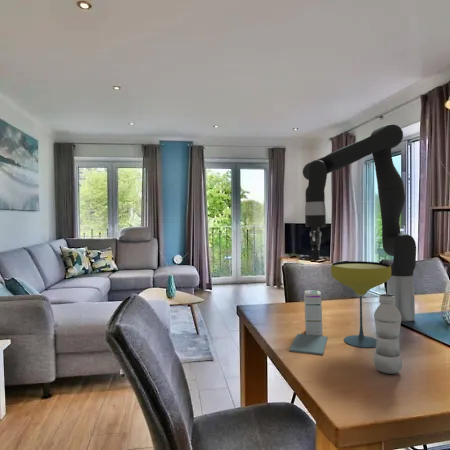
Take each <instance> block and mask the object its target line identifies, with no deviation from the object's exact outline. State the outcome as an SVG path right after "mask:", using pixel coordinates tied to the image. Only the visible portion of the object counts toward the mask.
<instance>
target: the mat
mask: <svg viewBox="0 0 450 450" xmlns="http://www.w3.org/2000/svg"><path fill="white" fill-rule="evenodd" d="M327 341H328V336H324V335H322V336H315V335H306V333H305V334H302V333H297V334H296V335H295V338H293V341H292V343H291V345H290V347H289V349H288V351H289V352H295V353H300V354H301V353H303V354H309V355H310V354H312V355H318V356H319V355H320V356H324V353H325V348H326V345H327Z"/></svg>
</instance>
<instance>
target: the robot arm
mask: <svg viewBox="0 0 450 450" xmlns="http://www.w3.org/2000/svg"><path fill="white" fill-rule="evenodd" d="M403 139H404V132H403V129H402V128H401V127H400V126H399V125H397V124H394V123H390V124H385V125H382V126H380V127H379V128H376V129H374V130H373V131H372V132H371V134H370V136H367V137H366V138H363V139H360V140H358V141H356V142H353V143H350V144H349V145H346V146H344V147H341V148H339V149H336V150H334V151H332V152H330V153H328V154H326V155H325V156H323V157H320V158H318V159H316V160H312V161H310V162H308V163H307V164H305V165H304V167H303V168H302V175H303V177H304V178H305V180H307V181H308V185H307V187H306V188H305V192H304V193H305V194H304V195H305V205H304V213H305V214H304V221H305V222H304V223H305V227H306V228H311V229H310V231H309V239H310V247H311V250H312V260H313V261H319V260H320V249H321V243H322V231H321V229H320V228H325V227H327V225H326V224H327V223H326V222H327V221H326V218H327V216H326V202H325V201H326V198H325V196H326V195H325V194H326V193H325V189H326V188H325V187H326V184H327V183H326V182H327V178H328V174H329V173H332V172H336V171H339V170H341V169H344V168H345V167H347V166H349V165H351V164H353V163H355V162H357V161H360V160H361V159H363V158H365V157H368V156H371V155H372V158H373V162H374V168H375V176H376V183H377V185H376V186H377V194H378V200H379V209H380V218H381V243H382V249H383V251H384V252H385V253H386V255H388V256H391V257H393V259H392V261H393V262H392V264H390V266H391V277H390V279H389V280H388V281H386V294H391V295H394V296H395V304H394V305H395V306H396V308H397V309H398V310H399V312H400V314H401V322H415V321H416V316H415V313H416V311H415V310H416V309H415V305H416V304H415V303H416V302H415V295H414V270H415V268H416V261H417V260H416V259H417V243H416V241H415V239H414V237H413V236H412V235H410V234H407V233H402V232H401V226H400V217H401V214H402V212H403V208H404V206H405V201H406V193H405V186H404V181H403V179H402V177H401V175H400V173H399V171H398V170H397V169H396V167H395V163H394V162H393V155H392V150H393V149H394V148H395V147H398V146H399V145H400V144H401V142H402V140H403Z"/></svg>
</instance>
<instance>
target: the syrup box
mask: <svg viewBox="0 0 450 450" xmlns="http://www.w3.org/2000/svg"><path fill="white" fill-rule="evenodd" d="M303 297H304V321H305V324H304V325H305V326H304V327H305V328H304V329H305V335H315V336H324V335H323V333H324V332H323V310H322V309H323V307H322V293H321V290H314V289H312V290H304V294H303Z"/></svg>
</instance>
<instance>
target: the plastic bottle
mask: <svg viewBox="0 0 450 450" xmlns="http://www.w3.org/2000/svg"><path fill="white" fill-rule="evenodd" d="M378 296H379V298H378V302H379V304H378V306H377V308H376V309H375V311H374V312H373V313H374V314H373V319H374V324H375V325H374V326H375V334H376V338H375V339H377V341H376V347H375V352H374V357H373V362H374V367H375V368H376V370H377V371H379V372H381V373H383V374H387V375H388V374H390V375H394V374H398V373H400V371H401V370H402V366H403V362H402V356H401V351H400V350H401V349H400V330H401V323H402V321H401V314H400V312H399V310H398V309H397V308H396V306H395V305H394V304H395V296H394V295H391V294H387V293H381V294H379V295H378Z"/></svg>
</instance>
